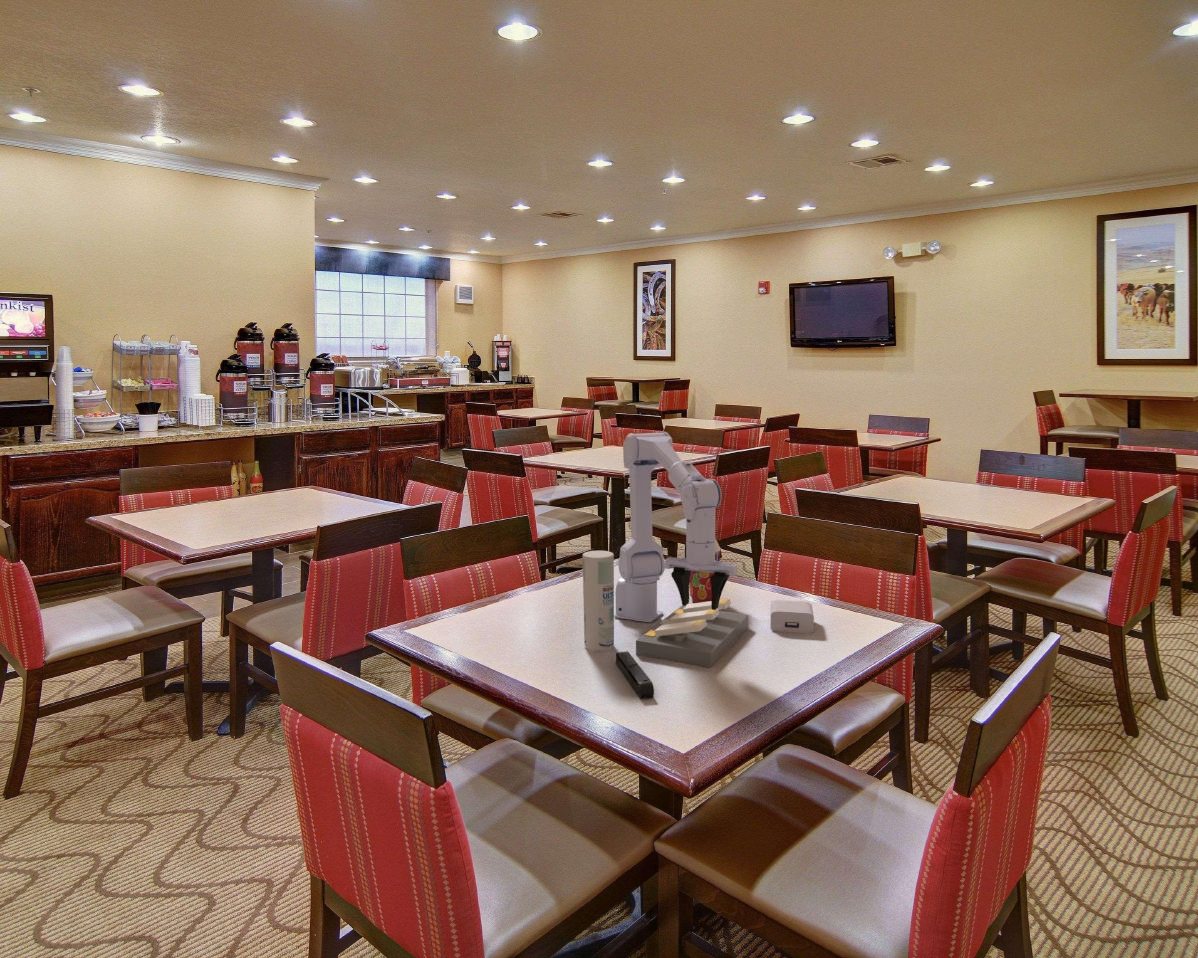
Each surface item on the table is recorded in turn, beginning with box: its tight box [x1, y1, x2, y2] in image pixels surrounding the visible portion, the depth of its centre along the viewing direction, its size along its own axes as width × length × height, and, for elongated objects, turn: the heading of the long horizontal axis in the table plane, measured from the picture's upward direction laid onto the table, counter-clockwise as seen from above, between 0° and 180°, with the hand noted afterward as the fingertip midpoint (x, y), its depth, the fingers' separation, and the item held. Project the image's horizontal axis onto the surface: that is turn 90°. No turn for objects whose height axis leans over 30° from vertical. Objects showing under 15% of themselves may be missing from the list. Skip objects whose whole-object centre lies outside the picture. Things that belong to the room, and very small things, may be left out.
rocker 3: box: [683, 598, 732, 613], centre depth 169 cm, size 10×4×1 cm, turn 62°
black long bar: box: [615, 650, 655, 700], centre depth 142 cm, size 18×3×3 cm, turn 14°
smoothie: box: [689, 538, 722, 603], centre depth 190 cm, size 8×8×20 cm
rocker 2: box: [669, 609, 720, 624], centre depth 162 cm, size 10×4×1 cm, turn 62°
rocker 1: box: [655, 619, 707, 636], centre depth 155 cm, size 10×4×1 cm, turn 62°
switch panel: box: [635, 605, 750, 668], centre depth 162 cm, size 16×26×4 cm, turn 153°
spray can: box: [582, 550, 615, 652], centre depth 159 cm, size 6×6×20 cm
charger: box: [770, 599, 815, 634], centre depth 174 cm, size 5×9×15 cm
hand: (700, 606), depth 152 cm, fingers open, 6 cm apart
